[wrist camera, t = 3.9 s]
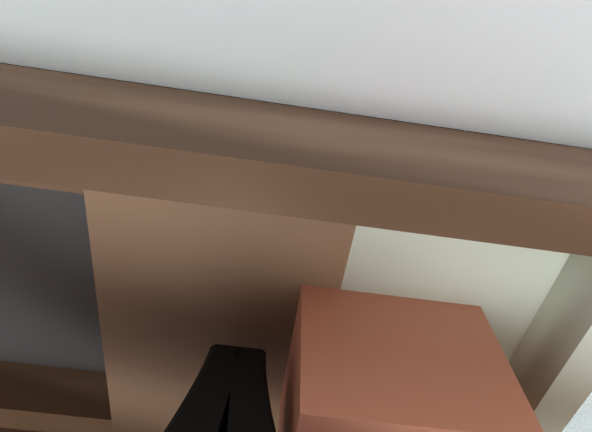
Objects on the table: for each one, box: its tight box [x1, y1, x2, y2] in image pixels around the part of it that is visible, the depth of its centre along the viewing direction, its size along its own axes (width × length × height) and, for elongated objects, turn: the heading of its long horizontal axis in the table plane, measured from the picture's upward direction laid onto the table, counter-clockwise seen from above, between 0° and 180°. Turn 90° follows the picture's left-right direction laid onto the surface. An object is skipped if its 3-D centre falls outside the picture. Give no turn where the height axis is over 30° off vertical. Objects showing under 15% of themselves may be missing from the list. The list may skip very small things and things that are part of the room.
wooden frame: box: [0, 63, 592, 432], centre depth 12 cm, size 12×27×4 cm, turn 82°
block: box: [278, 285, 544, 432], centre depth 10 cm, size 4×4×4 cm
